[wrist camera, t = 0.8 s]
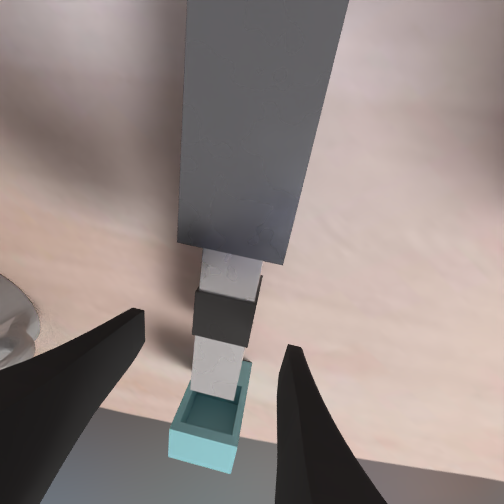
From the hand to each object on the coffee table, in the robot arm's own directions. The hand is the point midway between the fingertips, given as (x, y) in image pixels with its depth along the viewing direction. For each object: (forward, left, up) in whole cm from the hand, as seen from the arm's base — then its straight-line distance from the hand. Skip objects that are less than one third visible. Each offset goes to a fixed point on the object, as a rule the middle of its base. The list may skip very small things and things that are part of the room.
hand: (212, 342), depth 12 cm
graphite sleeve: (0, -10, -8) cm, 12 cm away
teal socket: (0, +11, -8) cm, 14 cm away
